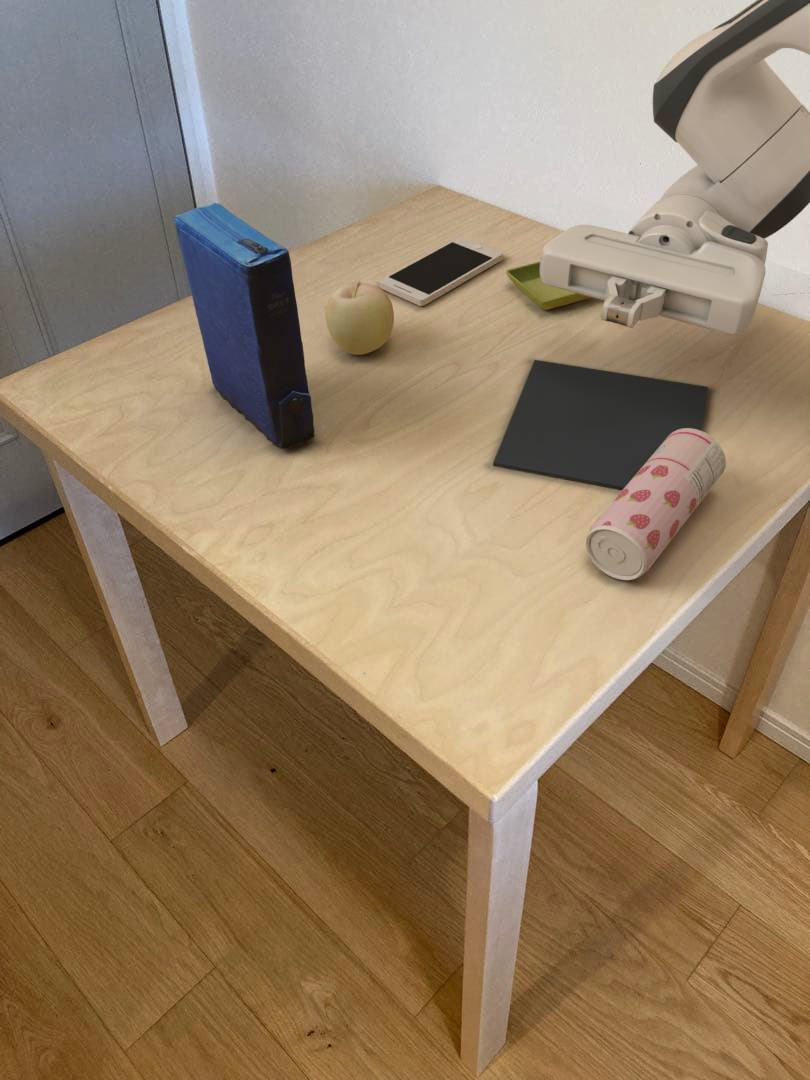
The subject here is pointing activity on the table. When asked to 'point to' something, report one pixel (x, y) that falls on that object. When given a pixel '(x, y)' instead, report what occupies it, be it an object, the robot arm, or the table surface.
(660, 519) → the beverage can
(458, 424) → the table surface
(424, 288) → the smartphone
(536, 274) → the saucer
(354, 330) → the fruit
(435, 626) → the table surface
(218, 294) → the book
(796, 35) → the robot arm
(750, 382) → the table surface
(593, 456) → the mat
